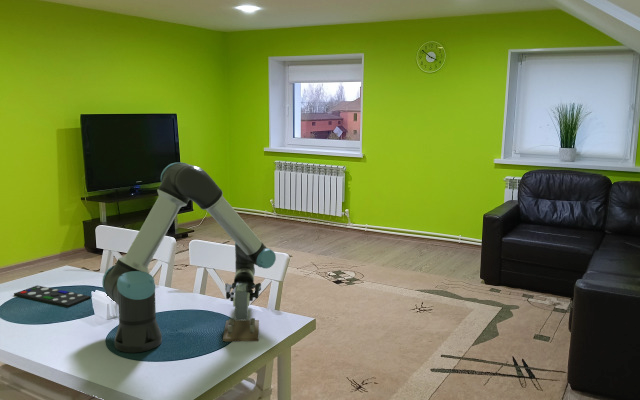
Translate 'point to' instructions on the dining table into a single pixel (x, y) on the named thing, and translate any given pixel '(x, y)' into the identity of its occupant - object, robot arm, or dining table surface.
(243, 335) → the pin tray
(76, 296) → the remote control
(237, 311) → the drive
